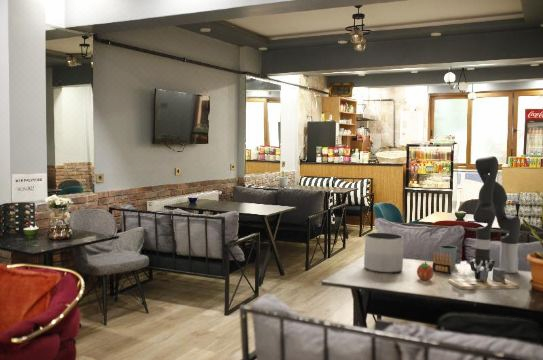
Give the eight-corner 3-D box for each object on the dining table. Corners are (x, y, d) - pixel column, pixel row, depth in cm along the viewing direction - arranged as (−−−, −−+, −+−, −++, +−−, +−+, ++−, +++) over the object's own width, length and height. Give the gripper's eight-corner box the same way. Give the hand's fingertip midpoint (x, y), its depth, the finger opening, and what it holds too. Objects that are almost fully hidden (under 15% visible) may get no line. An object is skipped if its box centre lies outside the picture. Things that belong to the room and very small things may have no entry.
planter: (409, 269, 307) (410, 236, 306) (390, 276, 291) (392, 240, 289) (376, 263, 322) (377, 231, 320) (356, 269, 305) (357, 235, 304)
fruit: (434, 278, 287) (434, 261, 287) (431, 283, 279) (432, 264, 278) (418, 276, 291) (418, 259, 290) (415, 281, 282) (416, 262, 281)
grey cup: (457, 265, 321) (457, 246, 320) (455, 268, 311) (456, 249, 311) (439, 263, 325) (440, 244, 324) (437, 266, 316) (438, 247, 315)
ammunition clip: (451, 273, 300) (452, 253, 299) (450, 274, 298) (451, 253, 297) (432, 270, 306) (433, 250, 305) (431, 271, 304) (432, 251, 303)
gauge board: (503, 280, 286) (504, 266, 285) (518, 288, 272) (519, 273, 271) (448, 282, 281) (448, 267, 281) (461, 289, 267) (461, 274, 267)
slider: (482, 279, 281) (482, 268, 281) (490, 283, 273) (490, 272, 273) (475, 279, 281) (475, 268, 280) (483, 283, 273) (483, 272, 272)
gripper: (491, 245, 282) (489, 277, 283) (466, 245, 280) (465, 277, 281) (499, 248, 274) (497, 280, 276) (473, 248, 272) (472, 281, 274)
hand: (481, 278), depth 278 cm, fingers closed on slider, 4 cm apart
